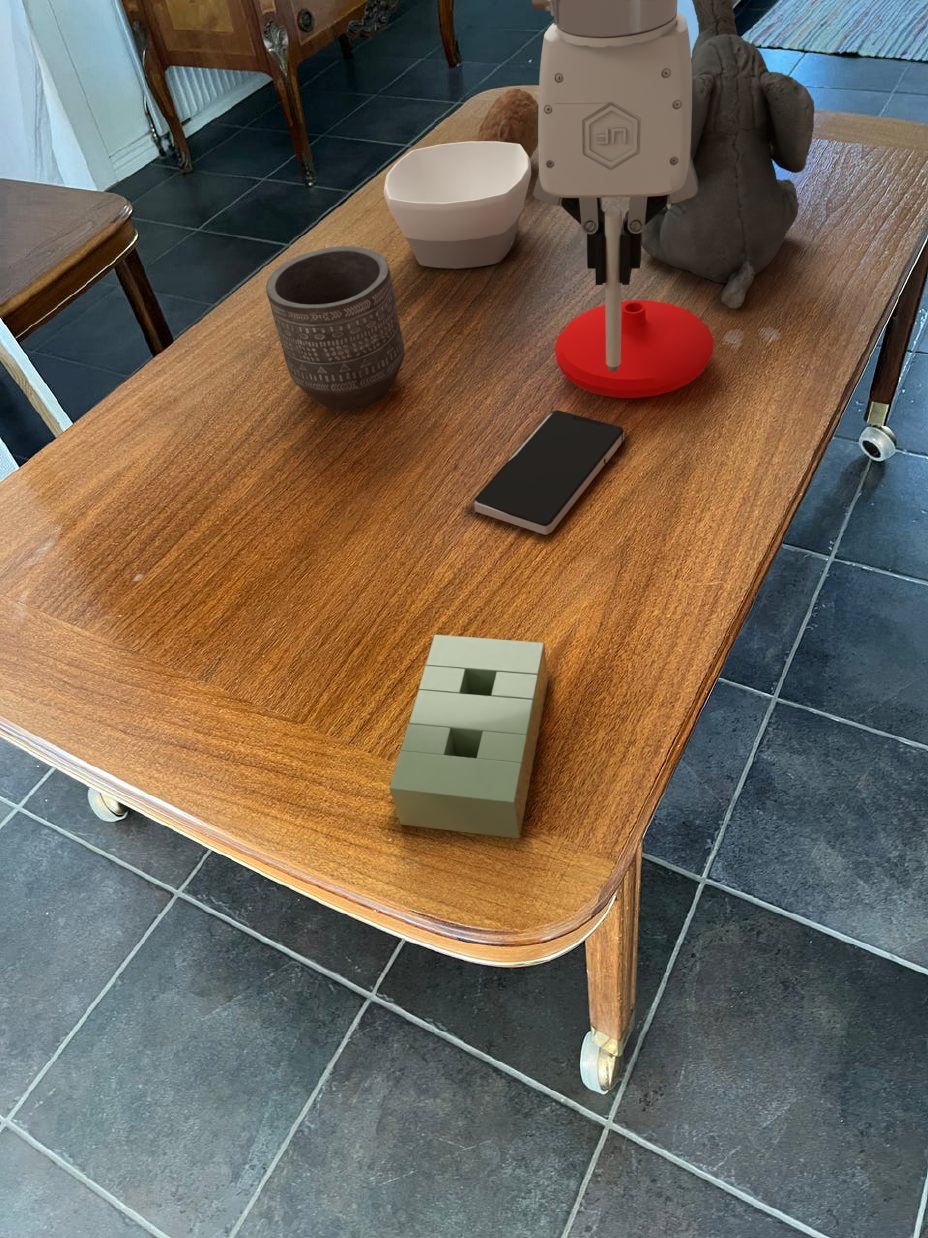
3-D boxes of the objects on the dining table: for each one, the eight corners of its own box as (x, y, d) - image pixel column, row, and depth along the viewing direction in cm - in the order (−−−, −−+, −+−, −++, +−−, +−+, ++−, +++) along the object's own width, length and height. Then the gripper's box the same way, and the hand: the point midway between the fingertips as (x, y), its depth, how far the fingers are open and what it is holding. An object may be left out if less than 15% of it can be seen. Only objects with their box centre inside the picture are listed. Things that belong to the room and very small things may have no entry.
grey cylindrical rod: (621, 366, 80) (622, 207, 69) (620, 375, 79) (620, 216, 68) (606, 365, 80) (605, 207, 69) (605, 375, 79) (603, 216, 68)
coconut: (464, 191, 132) (455, 114, 125) (490, 152, 140) (483, 78, 132) (532, 192, 129) (526, 114, 122) (554, 153, 137) (550, 77, 130)
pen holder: (442, 672, 74) (434, 633, 71) (548, 681, 72) (544, 642, 69) (400, 824, 65) (388, 788, 62) (519, 839, 64) (514, 802, 60)
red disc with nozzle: (604, 316, 106) (603, 255, 101) (738, 349, 99) (745, 285, 94) (526, 390, 98) (521, 328, 93) (665, 433, 91) (668, 368, 86)
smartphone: (470, 501, 86) (552, 408, 94) (471, 511, 87) (553, 418, 94) (549, 527, 82) (627, 428, 90) (550, 537, 83) (627, 438, 91)
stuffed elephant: (692, 200, 122) (706, -52, 103) (839, 244, 111) (887, -30, 91) (590, 262, 115) (584, 2, 95) (737, 316, 103) (765, 33, 83)
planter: (393, 345, 107) (371, 234, 98) (424, 402, 99) (404, 286, 90) (287, 375, 105) (255, 264, 96) (309, 435, 97) (277, 321, 88)
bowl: (382, 284, 117) (367, 207, 110) (411, 216, 129) (399, 143, 122) (527, 279, 113) (521, 200, 107) (543, 210, 125) (539, 135, 118)
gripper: (483, 28, 59) (506, 301, 73) (744, 13, 56) (717, 302, 69) (503, -11, 64) (521, 252, 77) (745, -27, 61) (719, 251, 74)
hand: (614, 274), depth 73 cm, fingers closed on grey cylindrical rod, 1 cm apart
